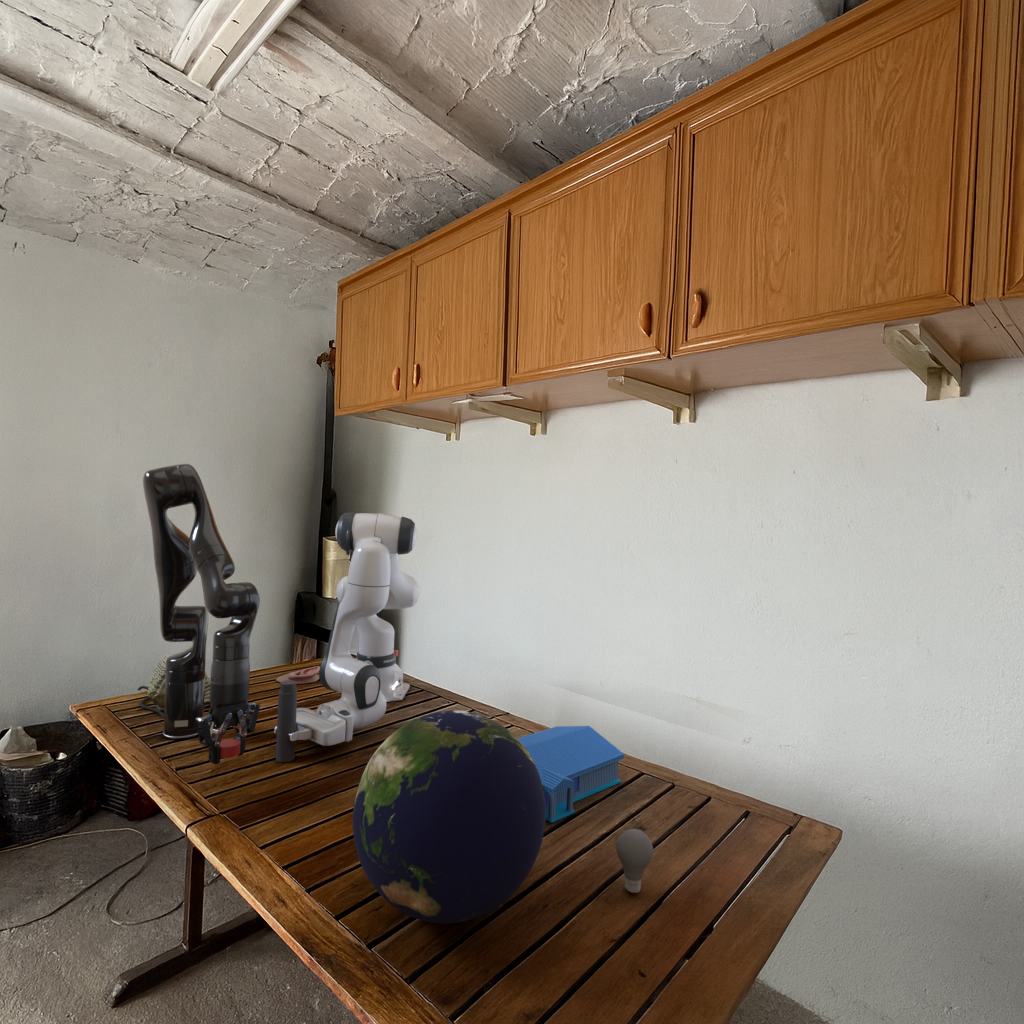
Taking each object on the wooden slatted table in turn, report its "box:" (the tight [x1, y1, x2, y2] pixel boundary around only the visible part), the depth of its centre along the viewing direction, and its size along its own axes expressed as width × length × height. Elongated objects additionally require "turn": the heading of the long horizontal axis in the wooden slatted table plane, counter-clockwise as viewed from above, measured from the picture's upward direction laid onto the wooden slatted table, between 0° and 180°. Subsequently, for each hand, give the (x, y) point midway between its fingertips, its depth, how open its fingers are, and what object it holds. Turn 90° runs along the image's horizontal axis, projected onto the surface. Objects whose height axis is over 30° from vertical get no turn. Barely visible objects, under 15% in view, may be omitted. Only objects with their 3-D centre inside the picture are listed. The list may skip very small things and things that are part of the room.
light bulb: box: [615, 828, 654, 894], centre depth 106 cm, size 6×6×10 cm
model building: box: [516, 725, 625, 824], centre depth 140 cm, size 39×24×10 cm, turn 132°
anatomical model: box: [275, 665, 320, 685], centre depth 215 cm, size 13×4×12 cm
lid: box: [219, 738, 241, 760], centre depth 133 cm, size 5×5×2 cm
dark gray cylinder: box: [275, 680, 298, 763], centre depth 152 cm, size 4×4×18 cm
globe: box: [352, 709, 547, 925], centre depth 100 cm, size 30×30×30 cm
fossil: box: [147, 654, 211, 712], centre depth 185 cm, size 9×18×15 cm, turn 132°
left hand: (227, 758), depth 133 cm, fingers closed on lid, 5 cm apart
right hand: (282, 734), depth 151 cm, fingers closed on dark gray cylinder, 4 cm apart
